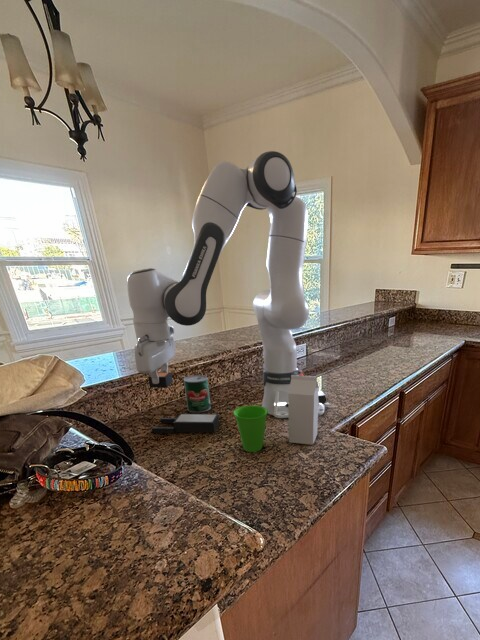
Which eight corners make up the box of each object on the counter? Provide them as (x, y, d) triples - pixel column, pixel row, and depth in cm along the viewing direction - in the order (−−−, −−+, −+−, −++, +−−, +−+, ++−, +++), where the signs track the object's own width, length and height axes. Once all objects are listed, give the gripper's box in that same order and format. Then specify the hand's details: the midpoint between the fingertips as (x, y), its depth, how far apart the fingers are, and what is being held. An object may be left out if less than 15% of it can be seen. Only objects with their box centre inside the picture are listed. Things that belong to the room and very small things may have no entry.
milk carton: (313, 445, 100) (314, 380, 92) (288, 442, 101) (287, 378, 93) (317, 434, 106) (319, 373, 98) (294, 432, 107) (294, 371, 99)
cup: (276, 448, 98) (274, 411, 93) (249, 459, 92) (246, 421, 87) (256, 437, 104) (254, 402, 99) (230, 447, 98) (226, 410, 93)
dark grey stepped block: (219, 422, 113) (218, 413, 112) (213, 433, 106) (212, 423, 104) (162, 422, 113) (160, 412, 111) (152, 432, 106) (150, 422, 104)
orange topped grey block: (172, 382, 108) (171, 372, 106) (167, 387, 103) (165, 376, 102) (156, 382, 108) (154, 371, 106) (149, 387, 103) (147, 376, 102)
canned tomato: (194, 414, 119) (189, 383, 114) (183, 408, 124) (179, 377, 119) (215, 409, 124) (211, 378, 119) (204, 402, 129) (200, 373, 124)
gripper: (148, 339, 90) (158, 391, 96) (175, 326, 108) (182, 370, 114) (124, 339, 89) (134, 391, 96) (155, 326, 108) (162, 370, 114)
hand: (160, 379), depth 105 cm, fingers closed on orange topped grey block, 5 cm apart
